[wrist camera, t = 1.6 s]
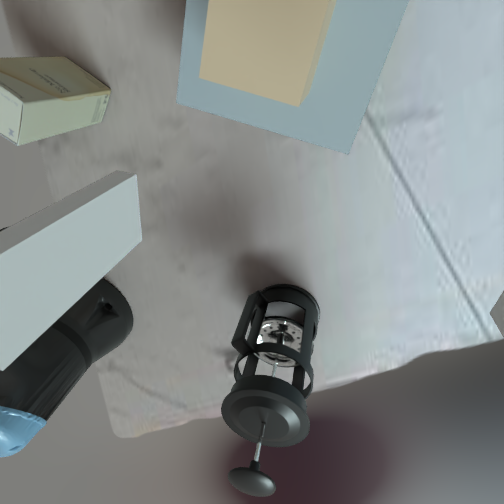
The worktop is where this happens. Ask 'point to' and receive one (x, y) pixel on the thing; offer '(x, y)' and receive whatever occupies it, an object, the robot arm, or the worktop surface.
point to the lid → (287, 63)
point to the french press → (270, 380)
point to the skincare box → (47, 98)
